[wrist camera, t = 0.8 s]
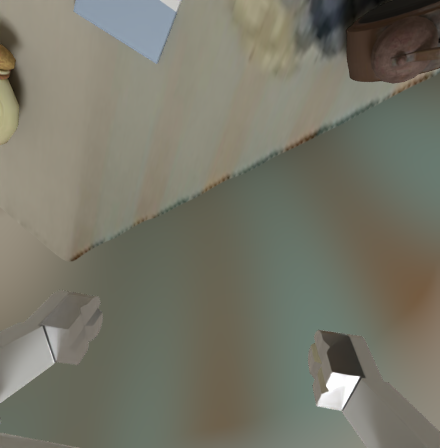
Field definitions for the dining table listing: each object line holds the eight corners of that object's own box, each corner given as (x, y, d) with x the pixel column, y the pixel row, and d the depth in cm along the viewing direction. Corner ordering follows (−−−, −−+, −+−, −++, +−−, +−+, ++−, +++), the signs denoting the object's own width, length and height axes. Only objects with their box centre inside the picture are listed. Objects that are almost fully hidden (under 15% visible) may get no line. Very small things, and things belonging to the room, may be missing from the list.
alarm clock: (435, -25, 35) (625, -71, 19) (429, 38, 39) (580, 44, 23) (324, 22, 37) (405, 18, 21) (329, 76, 42) (401, 107, 26)
